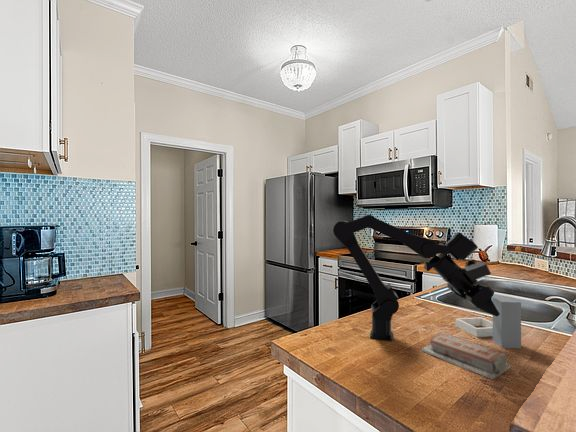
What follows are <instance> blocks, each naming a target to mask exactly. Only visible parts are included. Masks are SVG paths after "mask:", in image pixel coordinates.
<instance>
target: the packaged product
mask: <svg viewBox="0 0 576 432" xmlns="http://www.w3.org/2000/svg"><path fill="white" fill-rule="evenodd" d="M429 342H430V344H428V345H425V346H424V347H422V348H420V349H421V352H422V353H424V354H427V355H430V356H434V357H436V358H437V359H440V360H443V361H445V362H447V363H450V364H453V365H454V366H457V367H459V368H462V369H464V370H467V371H469V372H472V373H475V374H477V375H479V376H483V377H484V378H487V379H490V380H492V381H493V380H494V379H496V378H498V377H500V376H501V375H502V374H503V373H505V372H507V371H508V370H509V369H511V366H510V362H507V354H506V353H505V352H502V351H499V350H496V349H493V348H489V347H487V346H485V345H482V344H478V343H475V342H472V341H469V340H466V339H464V338H463V339H462V338H460V337H458V336H454V335H452V334H451V335H450V334H448V333H444V332H437V333H436V334H435V335H434V336H433V337H431V339H430V341H429Z"/></svg>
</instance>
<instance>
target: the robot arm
mask: <svg viewBox="0 0 576 432" xmlns="http://www.w3.org/2000/svg"><path fill="white" fill-rule="evenodd" d="M368 228H369V229H371V230H374V231H376V232H378V233H380V234H381V235H384V236H386V237H388V238H391V239H392V240H395V241H397V242H398V243H401V244H403V246H404V245H405V246H406V247H407V248H408V249H410V250H411V251H413V252H414V253H416V254H418V255H419V256H420V257H422V258H424V259H429V260H424V261H423V263H424V264H423V269H424V270H426V272H429V271H431V270H432V269H433V270H434V271H435V272H436V273H438V275H439V276H440V277H441V278H442V280H443V281H444V282H446V283H447V286H446V288H447V289H449V290H450V292H452V294H453V293H454V295H456V296H458V297H461V298H462V299H465V300H466V301H467V302H468V303H469V304H471V305H472V306H473V307H475V308H477V309H478V310H482V311H483V312H485V313H488V314H490V315H492V316H493V315H494V316H499V315H500V313H499V312H498V310H497V308H496V307H495V305H494V303H493V297H494V295H495V291H494V290H493V289H492V288H491V287H489V286H488V285H485V284H482V283H478V282H479V280H478V279H481V278H483V277H486V276H491V274H492V271H490V269H489V267H488V265H487V263H485V262H483V261H473V260H472V259H468V260H466V259H467V258H468V257H469V256H470V255H472V254H473V253H474V252H475V251H476V250H478V248H479V247H478V245H477V244H476V243H475V242H474V240H471V239H470V238H468V237H467V236H466V235H465V234H463V233H462V232H458V231H457V232H456V233H455V234H454V235H453V236H452V237H451V238H450V239H449V240H447V242H445V243H442V242H439V243H438V242H436V241H435V240H433V239H431V238H427V237H424V236H420V235H416V234H413V233H409V232H407V231H404V230H403V229H400V228H398V227H396V226H394V225H392V224H389V223H388V222H385V221H383V220H381V219H379V218H376V217H375V216H374V215H372V214H366V215H364V216H362V217H358V218H356V219H353V220H350V221H346V220H340V221H338V222H336V223H335V224H334V225H333V231H332V232H333V234H334V236H335V237H336V239H337V240H338V241H339V242H340V243H341V244H342V245H343V246H344V247H345V248H346V249H347V250H348V252H349V253H350V255H351V256H352V258H353V260H354V261H355V263H356V265H357V266H358V268H359V269H360V271H361V272H362V274H363V276H364V277H365V279H366V281H367V283H368V284H369V285H370V287H371V289H372V291H373V294H374V297H375V299H376V300H375V301H374V302H373V303H372V304H371V329H370V335H369V338H370V339H377V340H383V341H393V334H394V333H393V331H392V318H393V316H394V314H395V313H397V312H398V310H399V308H400V303H399V300H400V298H399V296H398V294H397V292H395V291H394V290H393V287H392V285H391V283H390V282H388V284H386V283H384V282H383V281H382V279H381V278H380V276H379V274H378V272H377V271H376V270H375V268H374V267H373V265H372V263H371V262H370V260H369V258H368V257H367V255H366V254H365V252H364V251H363V248H362V247H361V246H360V243H359V241H358V239H357V236H356V234H355V233H356V232H359V231H362V230H365V229H368ZM453 259H454V260H455V261H456V262H455V261H454V260H453ZM459 260H460V261H463V262H464V261H465V260H466V261H465V266H464V267H461V266H460V265H458V264H457V262H458V261H459ZM477 283H478V284H477ZM475 284H476V285H475Z"/></svg>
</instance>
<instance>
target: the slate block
mask: <svg viewBox="0 0 576 432" xmlns="http://www.w3.org/2000/svg"><path fill="white" fill-rule="evenodd" d="M492 302H493V303H494V305H495V307H496V308H497V310H498V312H499V313H500V315H499V316H494V315H492V322H493V336H492V341H493V342H494V343H495V344H496V345H498V346H499V347H500V348H506V349H522V302H521V301H519V300H517V299H515V298H512V297H502V296H500V297H499V296H496V297H495V296H492Z"/></svg>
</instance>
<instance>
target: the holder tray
mask: <svg viewBox="0 0 576 432" xmlns="http://www.w3.org/2000/svg"><path fill="white" fill-rule="evenodd" d="M478 326H479V327H478ZM480 326H481V327H480ZM455 327H457V328H458V329H461V330H463V331H464V332H465V333H466V332H467V333H468V334H470V335H472V336H473V337H476V338H483V337H484V338H485V337H493V321H491V320H488V319H487V318H484V317H479V316H478V317H461V318H455Z"/></svg>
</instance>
